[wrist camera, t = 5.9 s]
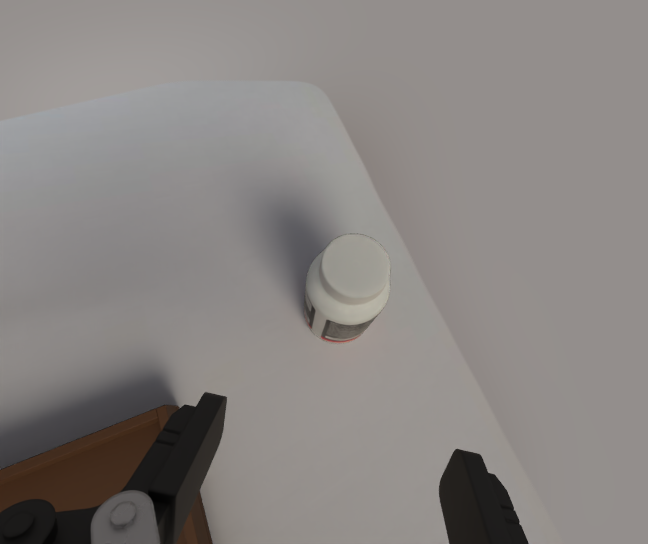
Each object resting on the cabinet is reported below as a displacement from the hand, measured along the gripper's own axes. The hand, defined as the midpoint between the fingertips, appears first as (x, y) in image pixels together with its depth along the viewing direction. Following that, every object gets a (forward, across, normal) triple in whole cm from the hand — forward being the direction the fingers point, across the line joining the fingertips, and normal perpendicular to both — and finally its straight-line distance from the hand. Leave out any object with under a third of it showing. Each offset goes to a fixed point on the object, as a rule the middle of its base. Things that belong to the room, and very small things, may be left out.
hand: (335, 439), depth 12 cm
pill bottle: (+16, 0, +4) cm, 17 cm away
